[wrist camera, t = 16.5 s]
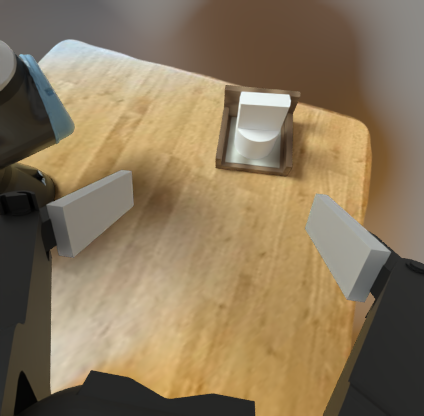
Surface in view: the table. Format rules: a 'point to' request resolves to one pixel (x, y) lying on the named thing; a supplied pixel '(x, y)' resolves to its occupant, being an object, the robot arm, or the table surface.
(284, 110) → the base with upright slab
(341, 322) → the table surface
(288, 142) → the walnut rest
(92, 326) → the table surface
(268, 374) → the table surface
